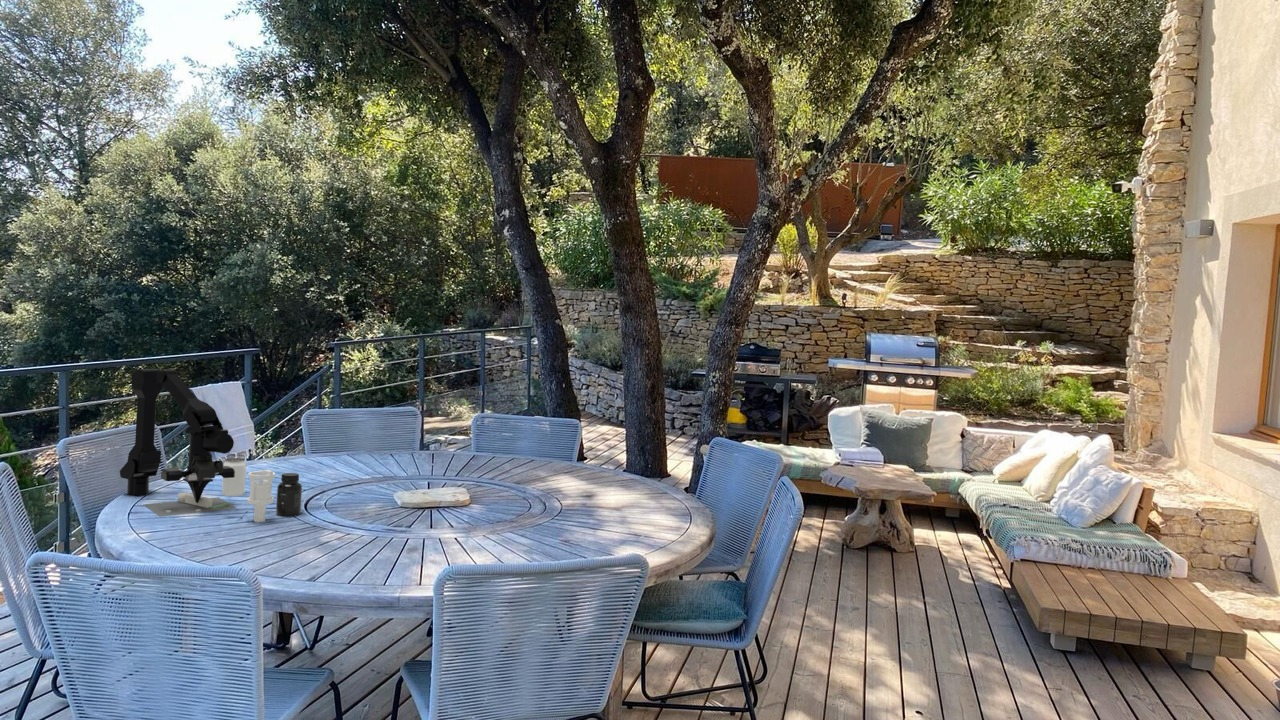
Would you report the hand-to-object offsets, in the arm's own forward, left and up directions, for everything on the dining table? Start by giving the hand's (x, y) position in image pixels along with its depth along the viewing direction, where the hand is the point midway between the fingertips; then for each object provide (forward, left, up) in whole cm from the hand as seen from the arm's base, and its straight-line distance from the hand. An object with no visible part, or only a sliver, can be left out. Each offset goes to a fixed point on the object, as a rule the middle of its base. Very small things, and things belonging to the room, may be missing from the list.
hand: (196, 502), depth 252 cm
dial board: (-2, -1, -2) cm, 3 cm away
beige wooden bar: (-3, +1, -1) cm, 4 cm away
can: (-13, +15, -3) cm, 20 cm away
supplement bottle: (+15, +21, -3) cm, 26 cm away
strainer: (+19, +11, -3) cm, 22 cm away
